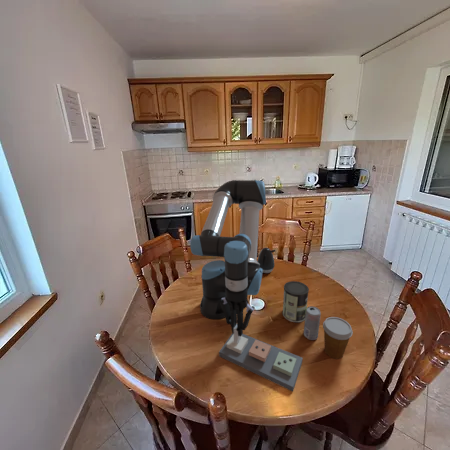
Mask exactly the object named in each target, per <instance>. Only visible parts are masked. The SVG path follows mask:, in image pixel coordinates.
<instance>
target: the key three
mask: <svg viewBox="0 0 450 450" xmlns="http://www.w3.org/2000/svg"><path fill="white" fill-rule="evenodd" d="M295 364H296V358H293V357H291V356H289V355H286V354H284V353H281V352H279V353H278V356H277V358H276V360H275V363H274V365H273V369H276V370H278V371H280V372H282V373H284V374H287V375H289V376H292V373H293V370H294V367H295Z"/></svg>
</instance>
